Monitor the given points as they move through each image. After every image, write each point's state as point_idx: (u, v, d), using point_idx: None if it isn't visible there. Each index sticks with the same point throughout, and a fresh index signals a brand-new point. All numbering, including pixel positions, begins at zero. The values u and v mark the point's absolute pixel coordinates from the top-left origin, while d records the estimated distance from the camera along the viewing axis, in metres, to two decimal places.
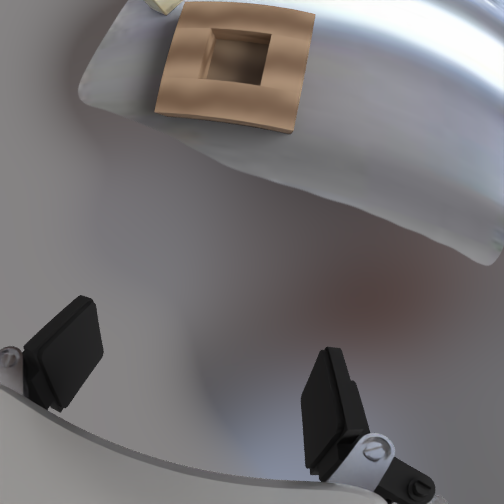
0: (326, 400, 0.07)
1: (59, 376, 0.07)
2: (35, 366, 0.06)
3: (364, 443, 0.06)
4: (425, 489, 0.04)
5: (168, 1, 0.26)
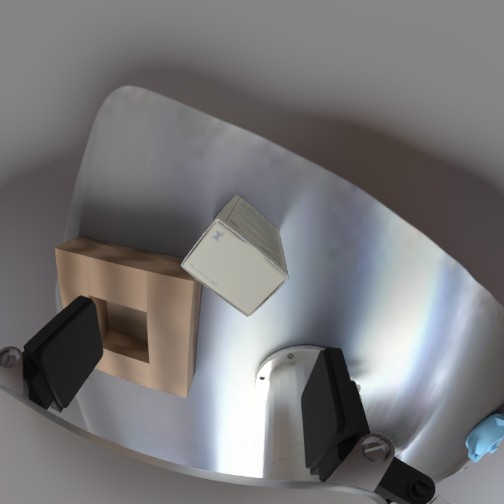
0: (326, 400, 0.07)
1: (59, 376, 0.07)
2: (35, 366, 0.06)
3: (364, 443, 0.06)
4: (425, 489, 0.04)
5: None
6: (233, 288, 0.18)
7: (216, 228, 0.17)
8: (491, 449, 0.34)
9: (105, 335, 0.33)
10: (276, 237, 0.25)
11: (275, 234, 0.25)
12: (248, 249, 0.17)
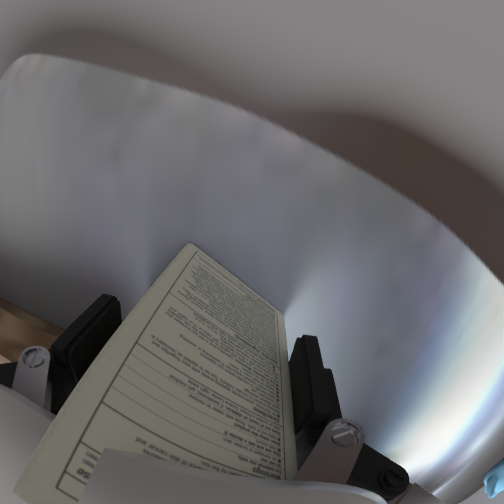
0: (299, 385, 0.08)
1: None
2: (62, 365, 0.07)
3: (333, 428, 0.06)
4: (397, 479, 0.04)
5: None
6: None
7: None
8: None
9: None
10: (277, 370, 0.09)
11: (275, 355, 0.10)
12: None
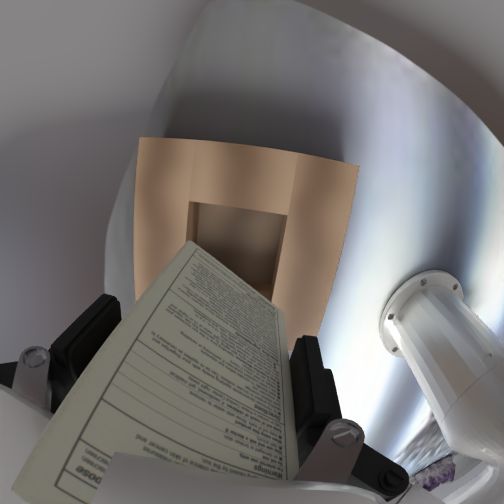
0: (299, 385, 0.08)
1: None
2: (62, 365, 0.07)
3: (333, 428, 0.06)
4: (397, 479, 0.04)
5: None
6: None
7: None
8: None
9: None
10: (278, 367, 0.09)
11: (276, 352, 0.10)
12: None
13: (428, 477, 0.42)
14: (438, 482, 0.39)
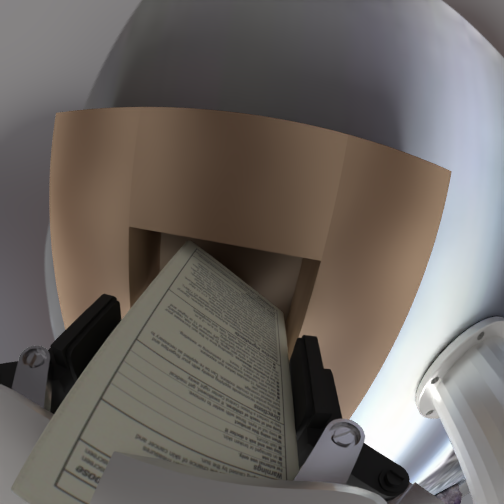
0: (299, 385, 0.08)
1: None
2: (62, 365, 0.07)
3: (334, 428, 0.06)
4: (397, 479, 0.04)
5: None
6: None
7: None
8: None
9: None
10: (278, 367, 0.09)
11: (275, 353, 0.10)
12: None
13: None
14: None
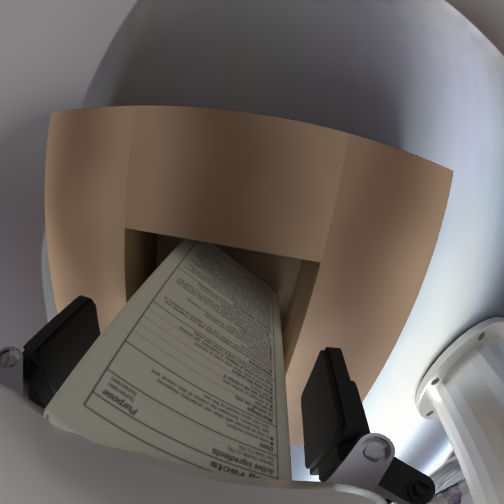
0: (326, 400, 0.07)
1: (59, 376, 0.07)
2: (35, 366, 0.06)
3: (364, 443, 0.06)
4: (425, 489, 0.04)
5: None
6: None
7: None
8: None
9: None
10: (271, 335, 0.11)
11: (269, 324, 0.12)
12: None
13: None
14: None
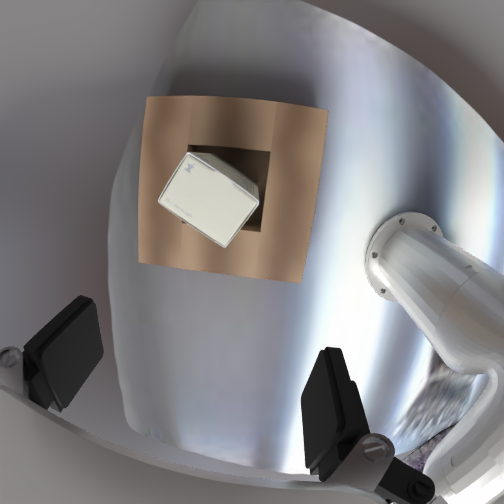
0: (326, 400, 0.07)
1: (59, 376, 0.07)
2: (35, 366, 0.06)
3: (364, 443, 0.06)
4: (425, 489, 0.04)
5: None
6: (207, 218, 0.19)
7: (187, 161, 0.17)
8: None
9: None
10: (252, 184, 0.25)
11: (252, 182, 0.26)
12: (218, 177, 0.18)
13: (433, 449, 0.47)
14: None
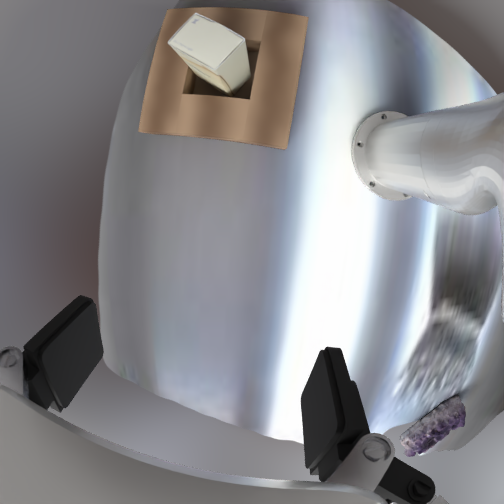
0: (326, 400, 0.07)
1: (59, 376, 0.07)
2: (35, 366, 0.06)
3: (364, 443, 0.06)
4: (425, 489, 0.04)
5: (200, 75, 0.27)
6: (203, 50, 0.19)
7: (194, 17, 0.17)
8: None
9: None
10: None
11: None
12: (215, 25, 0.18)
13: (436, 420, 0.46)
14: (448, 425, 0.43)
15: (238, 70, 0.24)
